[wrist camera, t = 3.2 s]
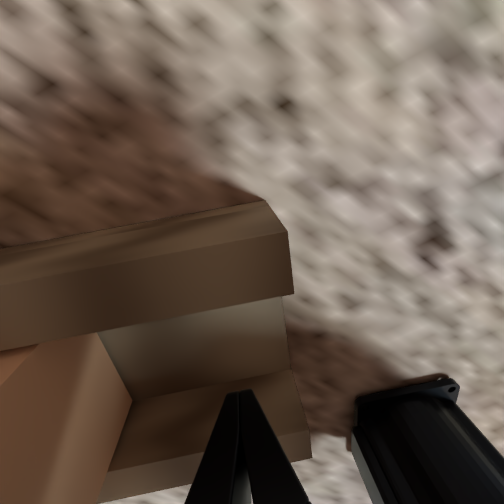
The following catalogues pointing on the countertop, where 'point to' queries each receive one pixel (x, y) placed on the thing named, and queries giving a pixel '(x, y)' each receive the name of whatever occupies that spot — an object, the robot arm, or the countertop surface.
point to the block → (58, 420)
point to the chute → (168, 329)
